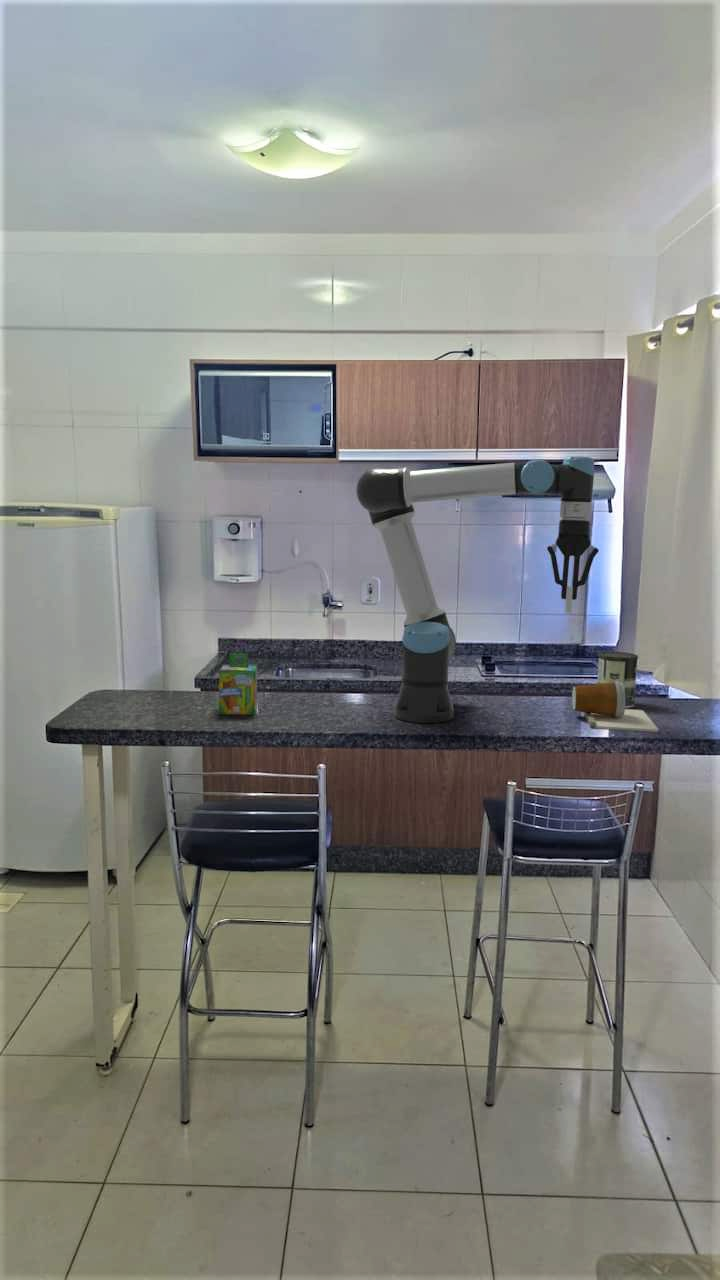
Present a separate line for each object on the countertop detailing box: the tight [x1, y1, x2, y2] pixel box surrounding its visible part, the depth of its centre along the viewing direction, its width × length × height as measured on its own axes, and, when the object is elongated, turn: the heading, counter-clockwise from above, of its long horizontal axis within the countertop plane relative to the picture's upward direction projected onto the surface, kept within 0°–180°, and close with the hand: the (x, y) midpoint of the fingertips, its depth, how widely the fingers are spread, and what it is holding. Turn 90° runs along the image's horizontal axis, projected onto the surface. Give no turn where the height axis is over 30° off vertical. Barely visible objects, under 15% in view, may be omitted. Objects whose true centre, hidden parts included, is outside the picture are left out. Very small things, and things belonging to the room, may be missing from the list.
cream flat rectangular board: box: [582, 708, 660, 733], centre depth 204 cm, size 16×20×2 cm
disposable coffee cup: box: [571, 681, 626, 718], centre depth 204 cm, size 10×10×12 cm
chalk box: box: [218, 653, 258, 716], centre depth 203 cm, size 9×9×15 cm
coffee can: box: [596, 651, 639, 709], centre depth 220 cm, size 10×10×14 cm
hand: (567, 612), depth 205 cm, fingers closed
